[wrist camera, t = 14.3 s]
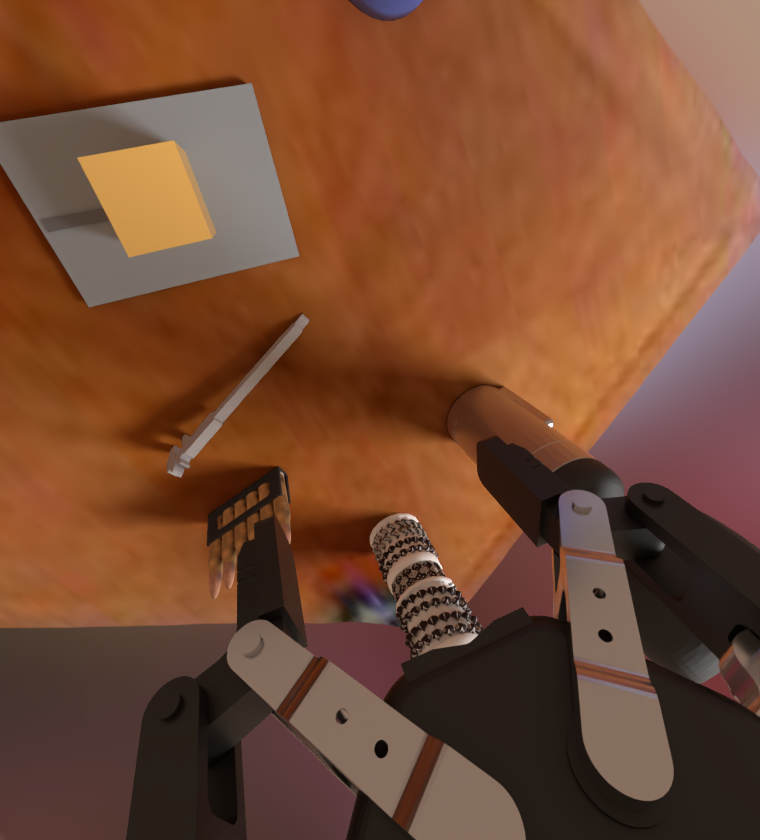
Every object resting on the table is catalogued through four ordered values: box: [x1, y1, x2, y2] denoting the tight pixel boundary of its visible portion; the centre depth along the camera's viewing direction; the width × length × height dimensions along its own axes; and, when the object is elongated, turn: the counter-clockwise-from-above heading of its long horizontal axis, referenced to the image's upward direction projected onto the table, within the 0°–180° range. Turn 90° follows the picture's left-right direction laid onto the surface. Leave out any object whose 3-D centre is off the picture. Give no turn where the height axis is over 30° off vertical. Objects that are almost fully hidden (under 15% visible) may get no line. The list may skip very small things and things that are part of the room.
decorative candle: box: [369, 513, 484, 659], centre depth 48 cm, size 9×9×25 cm
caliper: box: [167, 314, 309, 478], centre depth 36 cm, size 20×1×6 cm, turn 130°
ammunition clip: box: [207, 467, 291, 599], centre depth 41 cm, size 11×2×12 cm, turn 120°
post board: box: [0, 83, 299, 307], centre depth 27 cm, size 18×12×6 cm, turn 100°
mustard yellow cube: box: [77, 140, 216, 257], centre depth 26 cm, size 6×6×6 cm
